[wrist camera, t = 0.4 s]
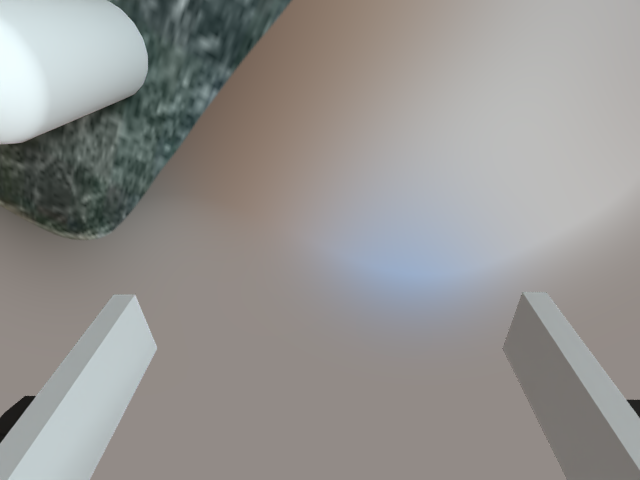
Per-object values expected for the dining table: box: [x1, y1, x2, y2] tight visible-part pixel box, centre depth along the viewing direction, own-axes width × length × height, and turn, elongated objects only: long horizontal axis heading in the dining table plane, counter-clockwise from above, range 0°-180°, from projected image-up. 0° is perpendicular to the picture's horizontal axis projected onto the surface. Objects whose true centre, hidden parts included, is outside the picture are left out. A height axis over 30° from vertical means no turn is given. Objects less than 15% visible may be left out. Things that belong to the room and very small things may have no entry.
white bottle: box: [0, 0, 148, 144], centre depth 25 cm, size 8×8×18 cm
